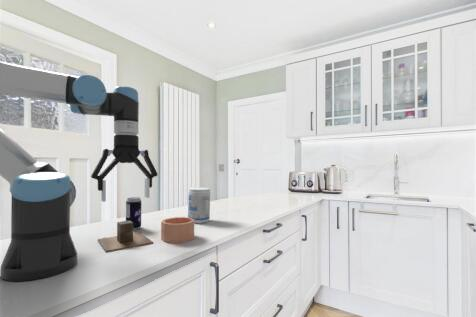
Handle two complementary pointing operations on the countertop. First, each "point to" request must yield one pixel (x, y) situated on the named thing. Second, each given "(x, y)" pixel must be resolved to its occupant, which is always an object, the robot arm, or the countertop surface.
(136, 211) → the beverage can
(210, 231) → the countertop surface
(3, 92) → the robot arm
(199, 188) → the supplement tub
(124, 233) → the walnut lid
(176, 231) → the terracotta bowl
